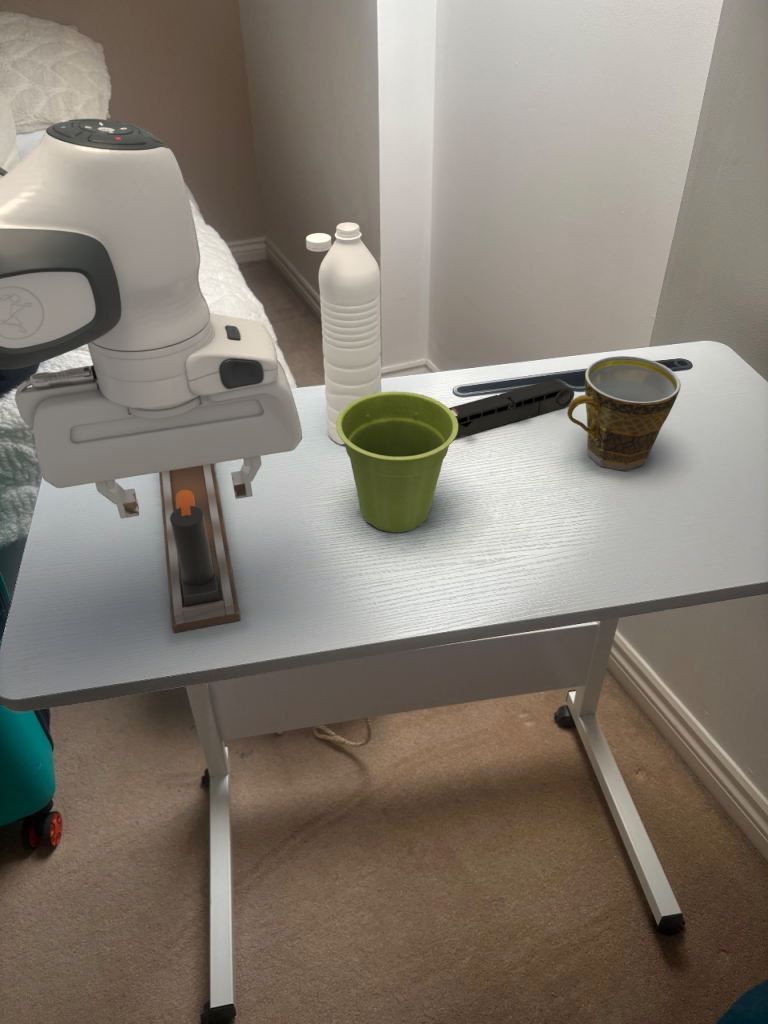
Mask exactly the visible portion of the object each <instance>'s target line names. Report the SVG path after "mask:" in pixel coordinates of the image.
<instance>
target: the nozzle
mask: <svg viewBox="0 0 768 1024" xmlns="http://www.w3.org/2000/svg"><path fill="white" fill-rule="evenodd" d="M176 507H177V509H176V510H175V511H173V513H172V514H171V516H170V522H171V527H172V531H173V536H174V540H175V545H176V549H177V554H178V558H179V563H180V567H181V575H182V585H183V594H184V601H185V605H186V607H189V606H195V605H200V604H206V603H211V602H217V601H220V596H219V590H218V583H217V576H216V570H215V565H214V559H213V555H211V553H210V548H209V542H208V537H207V531H206V526H205V521H204V515H203V512H202V510H201V509H200V508H198V507H195V500H194V495H193V493H192V492H191V491H189V490H181V491H179V492H178V493H177V494H176Z"/></svg>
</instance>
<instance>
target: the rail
mask: <svg viewBox="0 0 768 1024" xmlns="http://www.w3.org/2000/svg"><path fill="white" fill-rule="evenodd" d="M158 474H159V486H160V497H161V498H160V499H161V510H162V511H161V512H162V521H163V534H164V546H165V557H166V558H165V559H166V570H167V572H166V573H167V582H168V583H167V585H168V596H169V606H170V620H171V627H172V632H173V633H174V634H175V633H181V632H187V631H191V630H196V629H197V630H198V629H201V628H207V627H212V626H219V625H223V624H229V623H233V622H238V621H239V622H240V621H241V615H240V610H239V605H238V598H237V592H236V587H235V582H234V581H235V579H234V575H233V569H232V561H231V558H230V551H229V550H230V549H229V545H228V540H227V534H226V527H225V522H224V516H223V511H222V503H221V497H220V492H219V485H218V479H217V474H216V469H215V463H214V464H207V465H201V466H195V467H189V468H183V469H177V470H171V471H164V472H158ZM181 490H189V491H191V492H192V493H193V495H194V500H195V507H198V508H200V509H201V510H202V512H203V515H204V521H205V526H206V531H207V537H208V542H209V548H210V553H211V555H213V559H214V565H215V570H216V576H217V583H218V590H219V596H220V601H217V602H211V603H206V604H200V605H195V606H189V607H186V605H185V601H184V594H183V585H182V575H181V567H180V563H179V558H178V554H177V549H176V545H175V540H174V536H173V531H172V527H171V522H170V516H171V514H172V513H173V511H175V510H176V509H177V507H176V494H177V493H178V492H179V491H181Z"/></svg>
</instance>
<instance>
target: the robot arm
mask: <svg viewBox="0 0 768 1024" xmlns="http://www.w3.org/2000/svg"><path fill="white" fill-rule="evenodd" d="M193 215H194V214H193V211H192V206H191V202H190V198H189V194H188V191H187V186H186V183H185V180H184V176H183V173H182V170H181V168H180V165H179V162H178V160H177V158H176V156H175V154H174V152H173V151H172V149H171V148H170V147H169V146H168V145H167V144H166V143H165V142H164V141H163V140H161V138H159V137H157V136H156V135H155V134H153V133H151V132H150V131H148V130H147V129H144V128H142V127H141V126H138V125H135V124H132V123H125V122H121V121H120V120H119V121H118V120H111V119H102V118H73V119H69V120H67V121H60V122H57V123H55V124H52V125H50V126H48V127H47V128H46V129H45V130H44V132H43V134H42V135H41V138H40V139H39V141H38V143H37V144H36V145H35V146H34V147H33V148H32V150H30V151H29V152H28V154H26V155H25V157H24V158H23V159H22V160H20V162H18V163H17V164H16V165H15V166H14V167H13V168H12V169H11V170H9V171H7V170H6V169H4V168H2V167H1V166H0V370H2V371H3V370H5V371H6V370H17V369H18V370H19V369H23V368H28V367H32V366H35V365H38V364H40V363H44V362H46V361H48V360H51V359H54V358H57V357H59V356H62V355H64V354H66V353H70V352H71V351H74V350H76V349H79V348H81V347H83V346H85V345H87V347H88V352H89V355H90V360H91V363H92V365H86V366H85V365H84V366H79V367H74V368H73V367H72V368H68V369H64V370H60V371H52V372H50V371H43V372H41V371H40V372H36V373H34V374H31V375H30V376H29V379H28V380H26V381H23V382H21V384H20V385H19V386H18V387H17V389H16V391H15V393H14V401H15V404H16V406H17V410H18V412H19V416H20V418H21V420H22V421H23V423H24V424H25V425H26V426H28V427H30V429H33V438H34V446H35V450H36V451H35V452H36V457H37V461H38V465H39V470H40V473H41V476H42V479H43V481H45V482H46V483H48V484H49V485H51V486H53V487H54V488H57V489H66V488H72V487H77V486H82V485H83V486H84V485H90V484H95V487H96V490H97V492H98V493H99V494H100V495H102V496H103V497H105V498H106V499H107V500H108V501H109V502H111V503H112V504H114V505H116V507H117V511H118V515H119V517H120V519H121V520H123V519H127V518H128V519H129V518H133V517H139V516H140V511H139V510H140V507H139V501H138V498H137V493H136V490H135V488H127V489H124V488H123V487H122V486H121V485H120V484H119V483H118V482H117V481H116V480H120V479H127V478H133V477H139V476H145V475H152V474H157V473H158V474H159V472H164V471H171V470H177V469H183V468H189V467H195V466H201V465H207V464H214V465H215V464H220V463H225V462H231V461H238V460H243V463H242V465H241V468H240V470H238V471H233V472H232V471H231V472H230V475H231V480H232V481H231V482H232V486H233V492H234V498H235V499H236V500H237V499H238V500H239V499H244V498H251V497H253V496H254V495H253V494H254V493H253V489H252V482H253V481H254V479H255V477H256V476H257V474H258V472H259V470H260V468H261V467H262V456H263V457H264V456H269V455H275V454H276V455H277V454H282V453H288V452H292V451H294V450H296V449H297V448H298V447H299V445H300V443H301V441H302V440H303V431H302V425H301V420H300V416H299V411H298V407H297V405H296V401H295V398H294V397H295V396H294V394H293V391H292V388H291V385H290V382H289V380H288V376H287V374H286V371H285V369H284V367H283V365H282V364H281V362H280V361H279V359H278V354H277V349H276V346H275V343H274V341H273V340H274V339H273V338H272V335H271V333H270V332H269V330H268V328H267V327H266V325H265V324H264V323H263V322H262V321H258V320H254V319H248V318H240V317H236V316H235V317H234V316H228V315H223V314H217V313H213V312H210V311H211V310H210V308H209V305H208V302H207V300H206V298H205V296H204V294H203V292H202V289H201V285H200V281H199V280H200V279H199V273H200V266H201V251H200V247H199V246H200V245H199V240H198V235H197V231H196V230H197V229H196V225H195V219H194V216H193Z"/></svg>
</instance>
